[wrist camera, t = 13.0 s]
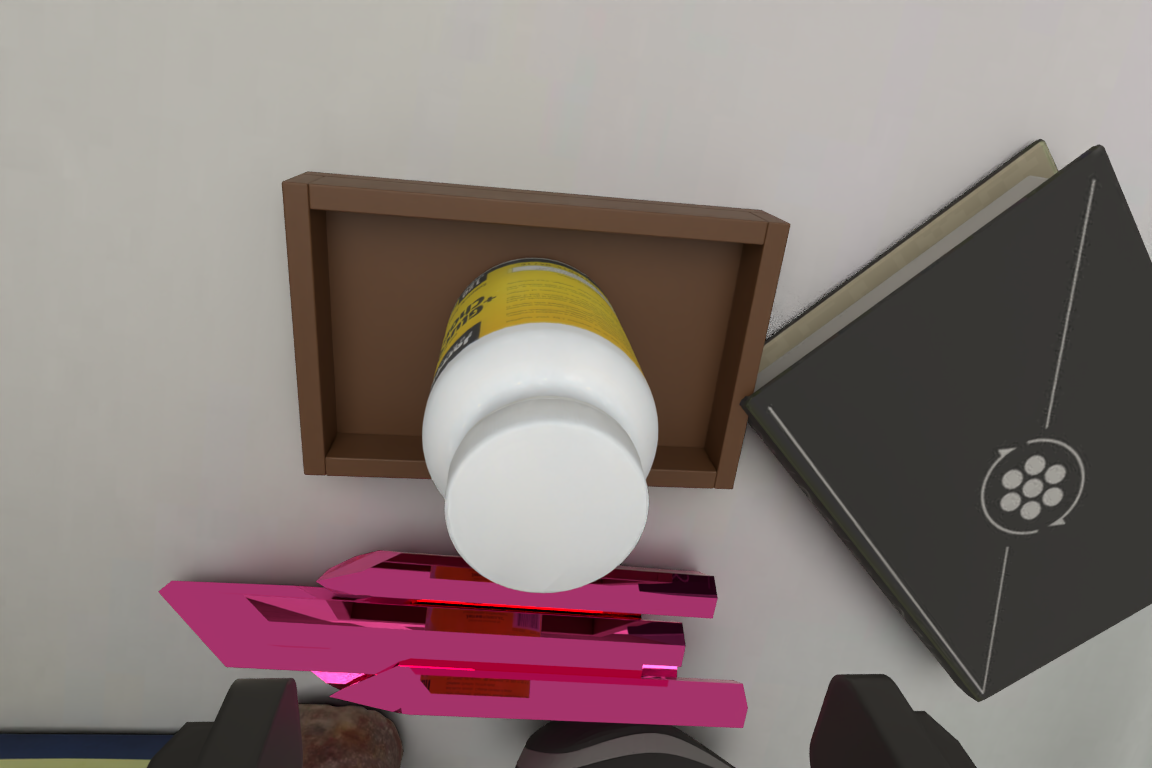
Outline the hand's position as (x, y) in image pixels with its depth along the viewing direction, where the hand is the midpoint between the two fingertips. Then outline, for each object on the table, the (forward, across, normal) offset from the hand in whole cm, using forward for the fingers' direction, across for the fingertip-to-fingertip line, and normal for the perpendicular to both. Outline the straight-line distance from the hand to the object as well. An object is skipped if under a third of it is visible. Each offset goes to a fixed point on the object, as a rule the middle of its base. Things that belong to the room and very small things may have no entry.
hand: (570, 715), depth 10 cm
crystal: (+18, +2, +13) cm, 22 cm away
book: (+18, -21, +4) cm, 27 cm away
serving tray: (+18, 0, 0) cm, 18 cm away
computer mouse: (+13, -6, +22) cm, 27 cm away
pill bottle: (+17, 0, 0) cm, 17 cm away
